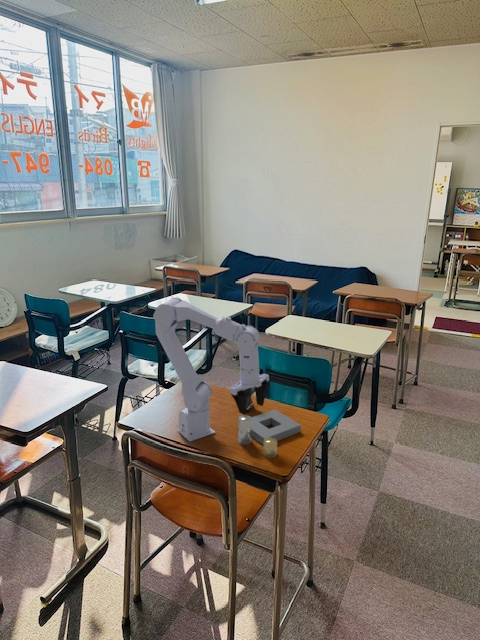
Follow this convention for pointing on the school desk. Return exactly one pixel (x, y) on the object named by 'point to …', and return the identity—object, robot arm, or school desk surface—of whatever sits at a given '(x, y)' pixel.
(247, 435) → the long pin
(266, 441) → the short pin
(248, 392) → the battery charger
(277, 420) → the hole board
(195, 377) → the robot arm
